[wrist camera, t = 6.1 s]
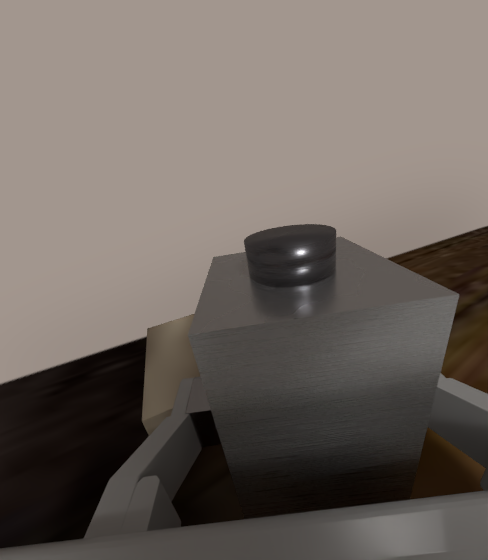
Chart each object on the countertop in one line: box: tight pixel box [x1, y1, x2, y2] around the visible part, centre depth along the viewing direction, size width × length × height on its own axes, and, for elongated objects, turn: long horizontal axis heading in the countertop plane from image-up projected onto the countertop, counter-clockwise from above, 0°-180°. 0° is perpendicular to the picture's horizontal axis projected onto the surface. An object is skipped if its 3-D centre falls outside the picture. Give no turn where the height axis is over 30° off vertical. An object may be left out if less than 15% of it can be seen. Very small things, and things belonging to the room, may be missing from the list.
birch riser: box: [142, 314, 201, 436], centre depth 20 cm, size 22×10×4 cm, turn 111°
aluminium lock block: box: [188, 224, 459, 519], centre depth 9 cm, size 5×5×13 cm
